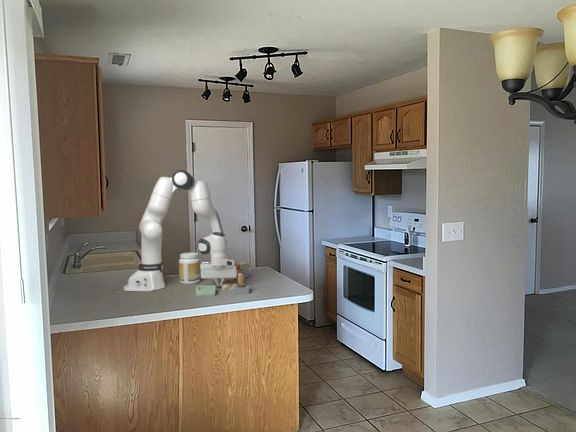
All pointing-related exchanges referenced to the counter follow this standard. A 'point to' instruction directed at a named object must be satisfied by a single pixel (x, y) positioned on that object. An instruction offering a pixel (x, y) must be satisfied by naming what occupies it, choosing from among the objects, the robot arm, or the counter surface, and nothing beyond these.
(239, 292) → the collar
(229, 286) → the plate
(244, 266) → the stack of blocks
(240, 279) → the dowel
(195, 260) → the supplement tub
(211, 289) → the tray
